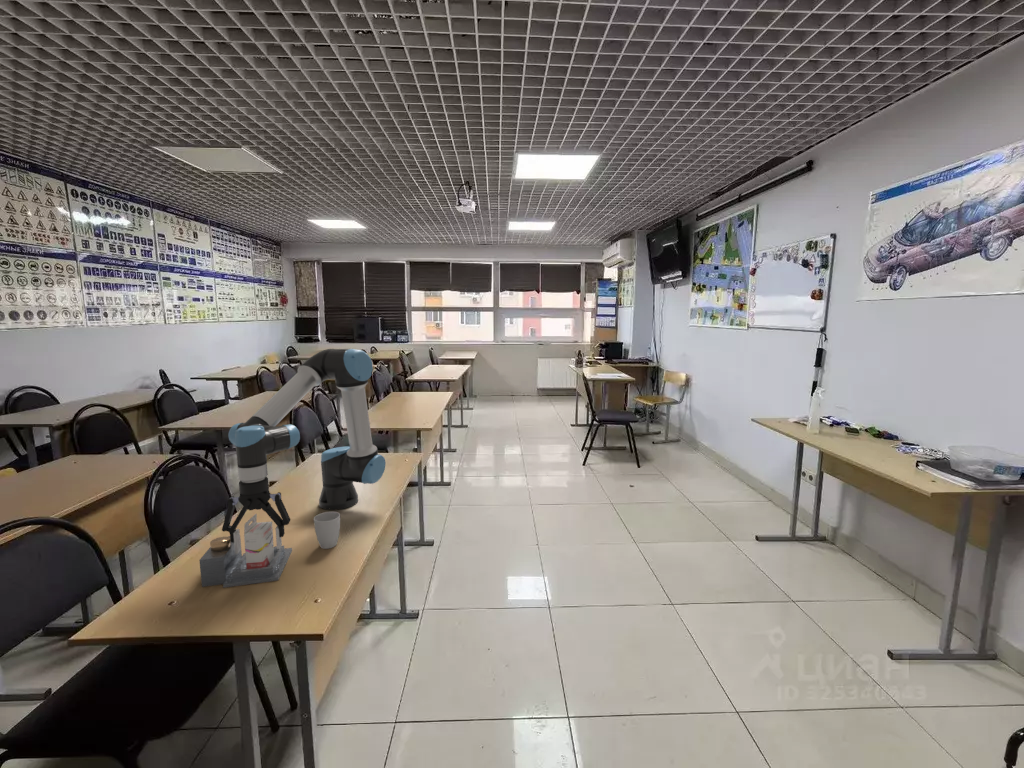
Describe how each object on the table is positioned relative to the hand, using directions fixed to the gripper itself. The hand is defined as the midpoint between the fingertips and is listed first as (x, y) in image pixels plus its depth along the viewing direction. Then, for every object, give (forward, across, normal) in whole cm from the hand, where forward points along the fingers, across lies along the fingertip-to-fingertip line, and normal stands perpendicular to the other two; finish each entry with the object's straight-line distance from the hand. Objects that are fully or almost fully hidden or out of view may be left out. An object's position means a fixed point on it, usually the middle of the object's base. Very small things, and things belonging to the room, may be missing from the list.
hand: (258, 549), depth 135 cm
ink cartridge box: (+5, 0, 0) cm, 5 cm away
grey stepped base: (+6, +3, 0) cm, 7 cm away
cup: (+6, -18, -10) cm, 21 cm away
